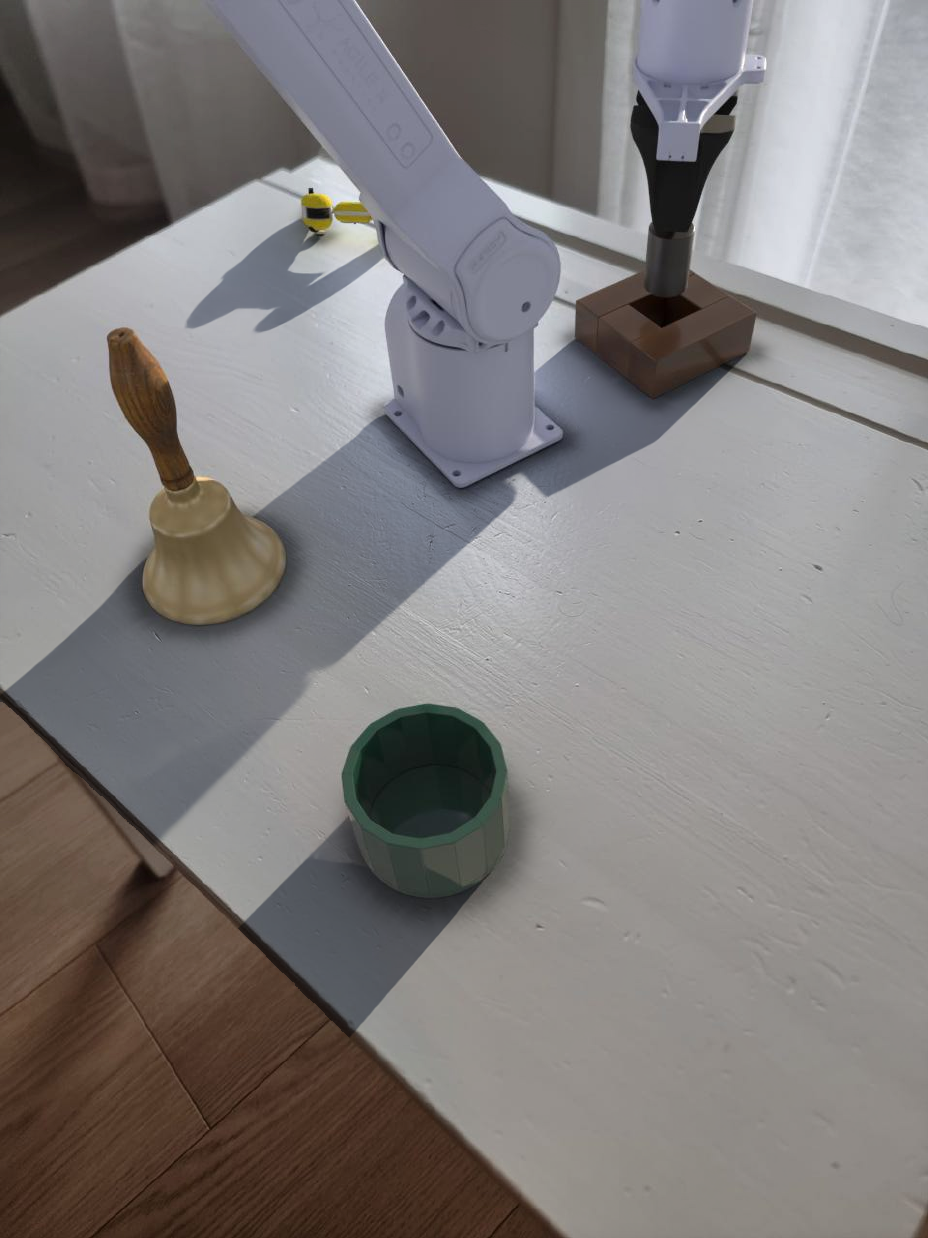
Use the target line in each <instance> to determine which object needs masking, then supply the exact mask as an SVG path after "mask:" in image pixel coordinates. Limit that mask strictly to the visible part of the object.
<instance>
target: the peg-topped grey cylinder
mask: <svg viewBox="0 0 928 1238" xmlns="http://www.w3.org/2000/svg"><path fill="white" fill-rule="evenodd" d="M647 230H648V231H647V242H646V252H645V264H644V265H645V266H644V270H645V274H644V288H645V290H646V291H647V292H649V293H650V294H652V295H655V296H658V297H674V296H678V295H680V294H682V293H683V292H684V291H685V290H686V289H687V286H688V279H689V271H690V270H691V262H692V255H693V247H694V239H695V232H696V227H695V224H694V223H693V222H692V224H691V226H690V228H689V230H688V232H668V231H655V230H654V227H653V223H652V221H651V222H650V223H649V224H648V229H647Z"/></svg>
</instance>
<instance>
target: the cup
mask: <svg viewBox="0 0 928 1238" xmlns="http://www.w3.org/2000/svg"><path fill="white" fill-rule="evenodd" d="M340 776H341V784H342V794H343V799H344V800H343V801H344V804H345V807H346V811H347V814H348V817H349V820H350V823H351V827H352V830H353V832H354V836H355V839H356V842H357V845H358V849H359V851H360V852H361V854H362V856H363V859H364V861H365V862H366V865H367V866H368V868H369V869H370V870H371V872H372V873H373V874H374V875H375V876H376V877H377V878H378V879H379V880H380V881H381V882H382V883H384V884H385V885H386V886H388V887H389V888H391V889H392V890H395V891H397V892H399V893H402V894H403V895H407V896H411V897H415V898H423V899H438V898H447V897H451V896H454V895H458V894H460V893H462V892H464V891H467V890H469V889H470V888H473V887H474V886H476V885H477V884H478V883H480V882H481V881H483V880H484V879H485V878H486V877H487V876H488V875H489V874H490V873H491V872H492V871H493V870H494V868H495V867H496V866H497V865H498V863H499V861H500V860H501V858H502V856H503V855H504V852H505V851H506V846H507V844H508V839H509V832H510V823H511V814H510V813H511V812H510V811H511V810H510V794H509V793H510V791H509V774H508V767H507V763H506V758H505V755H504V751H503V747H502V744H501V742H500V741H499V739H498V738H497V737H496V735H494V733H493V732H492V731H491V729H489V727H488V725H486V723H485V722H483V720H481V719H479V718H477V717H475V716H474V715H472V714H470V713H468V712H466V711H464V710H462V709H460V708H458V707H457V706H450V705H442V704H436V703H421V704H416V705H410V706H405V707H400V708H396V709H393V710H391V711H390V712H388V713H386V714H384V715H383V716H381V717H380V718H378V719H376V720H374V721H372V722H371V723H369V725H368V726H367V727H366V728H365V729H364V730H363V731H362V732H361V734H360V735H359V736H358V737H357V739H355V741H354V742H353V743H351V745H350V747H349V749H348V753H347V756H346V758H345V762H344V765H343V768H342V771H341V775H340Z"/></svg>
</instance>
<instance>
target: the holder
mask: <svg viewBox="0 0 928 1238" xmlns="http://www.w3.org/2000/svg"><path fill="white" fill-rule="evenodd" d="M644 274H645V269H643V270H641V271H639V272H636V273H635V274H632V275H629V276H627V277H625V278H623V279H621V280H619V281H617V282H614V283H612V284H610V285H607V286H605V287H603V288H600V289H599V290H596V291H594V292H592V293H590V294H587V295H585V296H583V297H580V298H578V299H576V300H575V315H574V316H575V320H574V339H576V340H577V341H578V342H579V343H581V344H582V345H583V346H585V347H586V348H587V349H588V350H590V351H591V352H592V353H593V354H595V355H596V356H597V357H598V358H599V359H601V360H602V361H603V362H605V364H607V365H608V366H610V367H611V368H612V369H614V370H615V371H616V372H617V373H619V374H620V375H621V376H622V377H623V378H625V379H626V380H628V381H629V382H630V383H631V384H632V385H634V386H635V387H637V388H638V389H639V390H640V391H642V392H643V393H644V394H645V395H647V396H648V397H649V398H650V399H652V400H654V399H656V398H658V397H660V396H662V395H664V394H666V393H668V392H670V391H672V390H673V389H676V388H678V387H681V386H683V384H686V383H688V382H690V381H692V380H695V379H696V378H698V377H700V376H702V375H704V374H706V373H708V372H710V371H713V370H714V369H716V368H719V367H720V366H722V365H724V364H726V363H729V362H730V361H733V360H734V359H736V358H738V357H740V356H742V355H744V354H746V353H748V352H750V350H751V346H752V340H753V334H754V329H755V324H756V320H757V314H758V313H757V311H755V310H753V309H752V308H750V306H747V305H746V304H744V303H742V302H741V301H740V300H738V299H736V298H735V297H734V296H732V295H730V294H728V293H726V292H725V291H724V290H722V289H721V288H720V287H718V286H716V285H714V284H713V283H712V282H710V281H709V280H708V279H705V278H704V277H702V275H701V276H700V275H699V274H698V273H696V272H695V271H693V270H692V269H690V271H689V279H688V286H687V289H686V290H685V291H684V292H683V293H682V294H680V295H678V296H674V297H658V296H655V295H652V294H650V293H649V292H647V291H646V290H645V288H644ZM663 324H664V325H665V326H663V327H661V325H663Z"/></svg>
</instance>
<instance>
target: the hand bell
mask: <svg viewBox="0 0 928 1238" xmlns="http://www.w3.org/2000/svg"><path fill="white" fill-rule="evenodd" d="M137 335H138V334H137V333H136V332H135V330H134V329H133V328H130V327H125V326H123V327H118V328H115V329H113V330H112V331H110V332H109V333H108V334H107V336H106V342H107V348H108V367H109V368H108V369H109V370H108V371H109V380H110V384H111V389H112V392H113V395H114V398H115V399H116V403H117V404H118V407H119V409H120V411H121V412H122V414H123V416H124V418H125V419H126V421H127V423H128V424H129V425H130V426H131V428H132V429H133V430H134V432H136V434H137V435H138V436H139V437H140V439H142V440H143V442H144V443H145V444H146V446H147V447H148V449H149V451H150V455H151V457H152V459H153V462H154V465H155V468H156V470H157V473H158V476H159V481H160V482H161V485H162V486H163V488H162V489H161V490H159V492H158V493H157V494H156V495H155V496H154V498H153V499H152V501H151V503H150V506H149V509H148V510H149V511H148V519H149V524H150V527H151V530H152V534H153V540H154V546H153V548H152V550H151V552H150V553H149V555H148V556H147V559H146V561H145V564H144V567H143V573H142V580H141V581H142V589H143V594H144V596H145V599H146V600H147V602H148V604H149V605H150V607H151V608H152V609H153V610H155V611H156V612H157V613H158V614H159V615H161V616H162V617H165V618H166V619H168V620H171V621H173V622H175V623H179V624H185V625H191V626H192V625H193V626H198V625H199V626H204V625H213V624H215V625H216V624H221V623H225V622H228V621H231V620H234V619H237V618H239V617H241V616H243V615H245V614H247V613H249V612H251V611H252V610H255V609H256V608H257V607H258V606H260V605H261V604H262V603H263V602H265V601H266V600H267V599H268V598H269V597H270V596H271V595H272V594H273V592H274V591H275V590H276V589H277V588H278V585H279V584H280V582H281V580H282V578H283V575H284V574H285V569H286V565H287V553H286V552H287V551H286V549H285V545H284V543H283V541H282V539H281V537H280V536H279V534H278V533H277V532H276V531H275V530H274V529H273V528H272V527H270V526H269V525H268V524H266V523H264V522H263V521H261V520H259V519H257V518H254V517H253V516H249V515H246V514H243V513H242V511H241V510H240V509H239V507H238V506H237V505H236V503H235V501H234V499H233V497H232V495H231V494H230V492H229V490H228V488H227V487H226V486H225V485H224V484H222V483H221V482H219V481H218V480H216V479H214V478H210V477H205V476H195V473H194V470H193V468H192V466H191V465H190V461H189V460H188V457H187V455H186V453H185V451H184V448H183V446H182V444H181V441H180V438H179V434H178V433H179V432H178V416H177V415H178V414H177V405H176V401H175V397H174V393H173V390H172V387H171V384H170V381H169V379H168V377H167V374H166V372H165V371H164V369H163V367H162V366H161V363H159V361H158V360H157V358H156V357H155V356H154V355H153V354H152V353H151V351H150V350H149V349H148V348H147V347H146V346H145V345H144V344H143V342H142V341H141V340H140V338H139V337H138V336H137Z"/></svg>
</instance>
